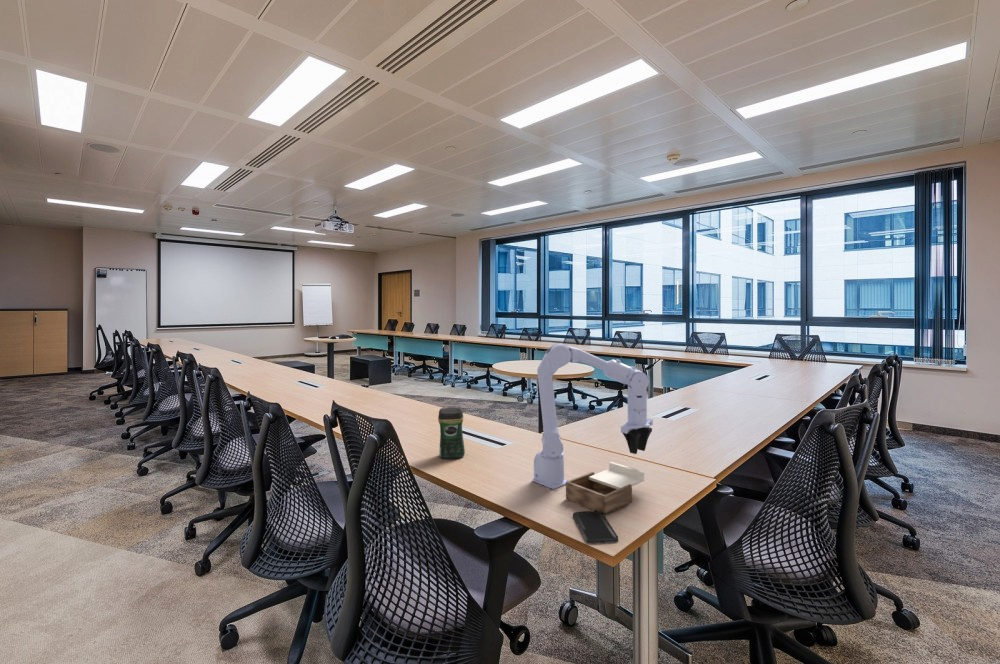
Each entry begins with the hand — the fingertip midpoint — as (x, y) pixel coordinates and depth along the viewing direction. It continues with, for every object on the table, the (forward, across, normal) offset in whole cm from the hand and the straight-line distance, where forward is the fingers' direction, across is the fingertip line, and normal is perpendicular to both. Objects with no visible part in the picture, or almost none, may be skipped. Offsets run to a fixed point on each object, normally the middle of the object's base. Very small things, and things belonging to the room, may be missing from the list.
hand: (637, 451), depth 139 cm
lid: (+6, -11, 0) cm, 13 cm away
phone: (+10, -33, -9) cm, 36 cm away
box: (+10, -20, 0) cm, 22 cm away
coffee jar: (+10, -28, +62) cm, 69 cm away
